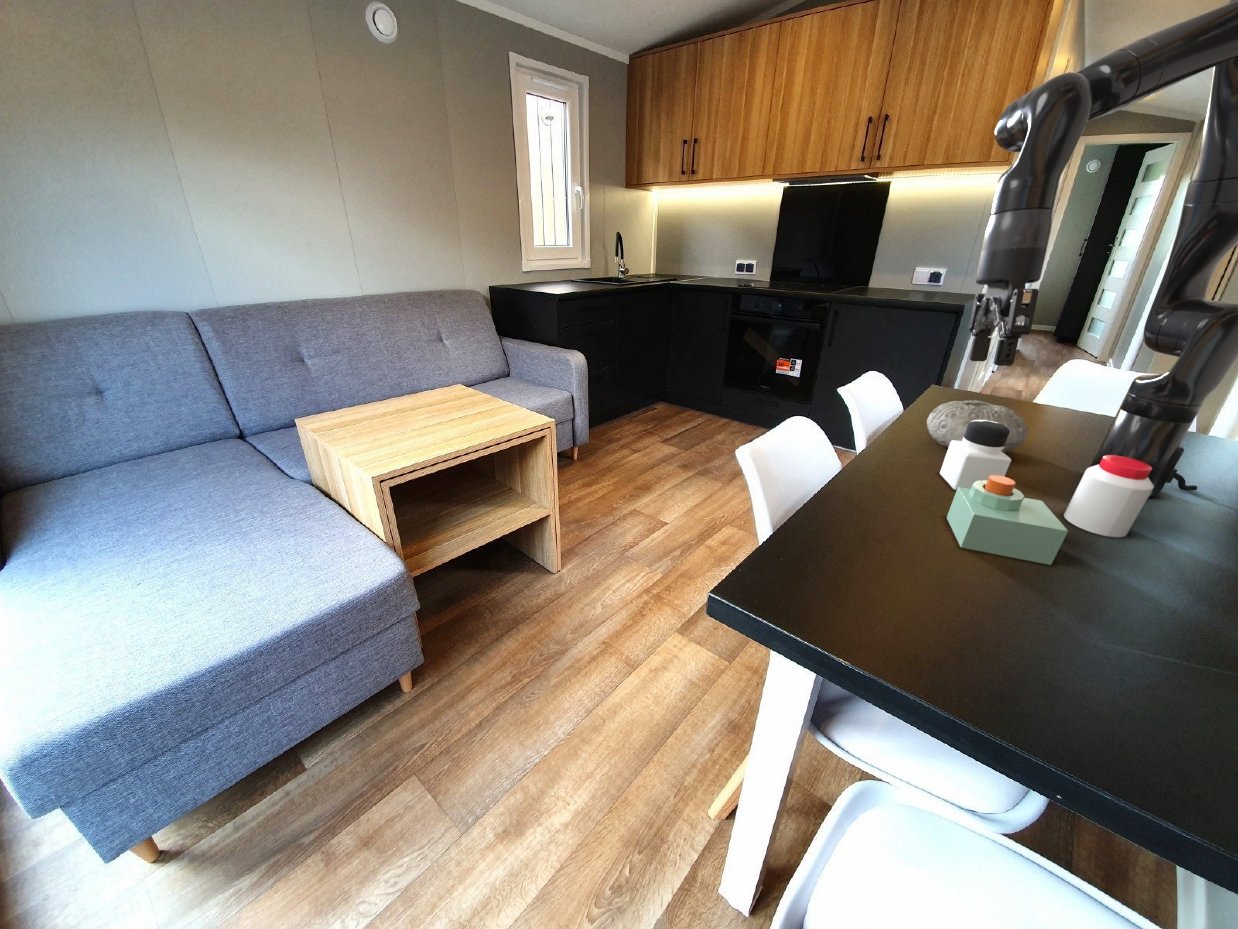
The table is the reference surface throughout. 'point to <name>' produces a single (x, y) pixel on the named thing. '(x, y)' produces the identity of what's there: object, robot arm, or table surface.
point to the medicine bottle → (976, 455)
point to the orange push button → (1000, 485)
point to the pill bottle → (1110, 496)
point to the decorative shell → (956, 415)
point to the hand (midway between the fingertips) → (989, 363)
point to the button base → (1005, 524)
